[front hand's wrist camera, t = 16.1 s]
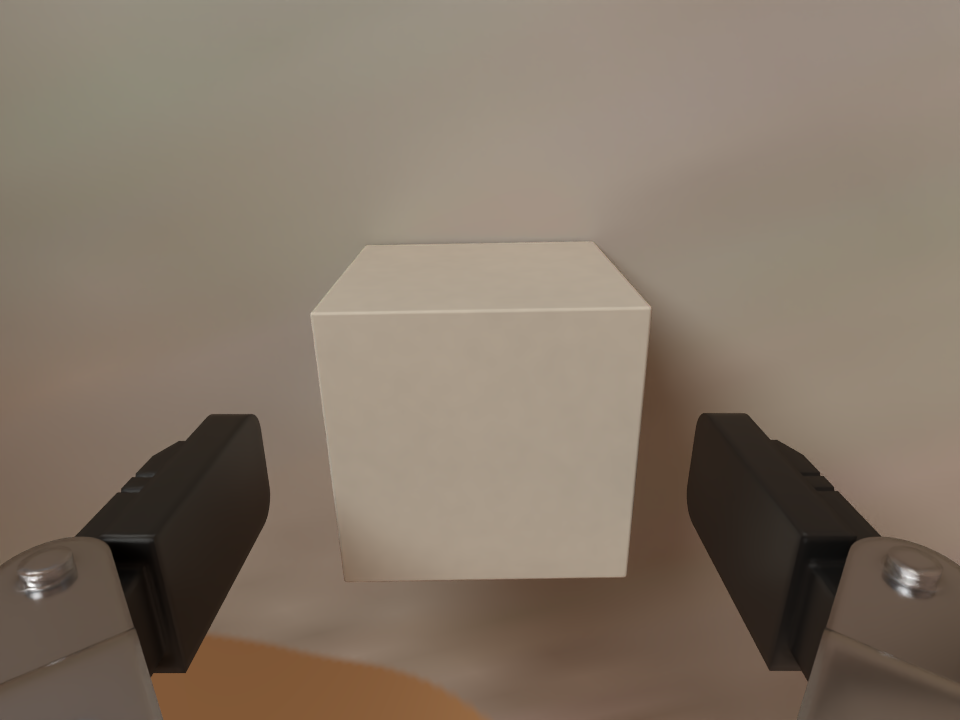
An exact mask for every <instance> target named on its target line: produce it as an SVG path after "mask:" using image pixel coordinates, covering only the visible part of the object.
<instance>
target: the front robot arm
mask: <svg viewBox="0 0 960 720" xmlns="http://www.w3.org/2000/svg"><path fill="white" fill-rule="evenodd" d="M269 505H270V488H269V481H268V474H267V467H266V460H265V454H264V447H263V440H262V434H261V427H260V423H259V421H258V418H257V417H256V416H255V415H253V414H211V415H209V416H208V417H207V418H206V419H205V420H204V421H203V422H202V423H201V425H200V426H199V427H198V428H197V429H196V430H195V431H194V432H193V433H192V434H191V435H190V437H189V438H188V439H187V440H186V441H178V442H177V443H175V444H173V445H171V446H170V447H168V448H166V449H164V450H163V451H161V452H159V453H157V454H156V455H154V456H152V457H151V458H150V460H149V461H148V462H147V463H146V464H145V465H144V466H143V467H142V468H141V469H140V470H139V471H138V472H137V473H136V477H132V478H131V479H130V480H129V481H128V482H127V483H126V484H125V485H124V486H123V487H122V488H121V493H117V494H116V495H115V496H114V497H113V498H112V499H111V500H110V501H109V502H108V503H107V504H106V505H105V506H104V507H103V508H102V509H101V510H100V511H99V512H98V513H97V514H96V515H95V516H94V517H93V518H92V519H91V521H90V522H89V523H88V524H87V525H86V526H85V527H84V528H83V529H82V530H81V531H80V532H79V533H78V534H77V535H76V536H75V537H70V538H63V539H58V540H54V541H50V542H47V543H44V544H41V545H38V546H35V547H33V548H31V549H28V550H26V551H24V552H22V553H20V554H18V555H16V556H15V557H13V558H11V559H10V560H8V561H7V562H5V563H4V564H2V565H1V566H0V720H163V717H162V714H161V711H160V708H159V704H158V701H157V698H156V694H155V691H154V688H153V684H152V681H151V676H152V674H153V673H186V671H187V669H188V667H189V666H190V664H191V662H192V660H193V658H194V656H195V654H196V652H197V651H198V649H199V647H200V645H201V643H202V641H203V639H204V637H205V635H206V634H207V632H208V630H209V628H210V626H211V624H212V622H213V620H214V618H215V617H216V615H217V613H218V611H219V609H220V607H221V605H222V603H223V602H224V600H225V598H226V596H227V594H228V592H229V590H230V588H231V586H232V585H233V583H234V581H235V579H236V577H237V575H238V573H239V571H240V569H241V568H242V566H243V564H244V562H245V560H246V558H247V556H248V554H249V552H250V551H251V549H252V547H253V545H254V543H255V541H256V539H257V537H258V536H259V534H260V532H261V530H262V528H263V526H264V524H265V522H266V519H267V516H268V511H269ZM687 505H688V511H689V515H690V519H691V521H692V523H693V525H694V527H695V529H696V531H697V533H698V535H699V537H700V539H701V541H702V543H703V544H704V546H705V548H706V550H707V552H708V554H709V556H710V558H711V560H712V562H713V564H714V565H715V567H716V569H717V571H718V573H719V575H720V577H721V579H722V581H723V583H724V585H725V586H726V588H727V590H728V592H729V594H730V596H731V598H732V600H733V602H734V604H735V606H736V607H737V609H738V611H739V613H740V615H741V617H742V619H743V621H744V623H745V625H746V627H747V628H748V630H749V632H750V634H751V636H752V638H753V640H754V642H755V644H756V646H757V648H758V649H759V651H760V653H761V655H762V657H763V659H764V661H765V663H766V665H767V667H768V669H769V670H770V671H802V672H803V674H804V676H805V677H806V679H807V681H808V684H807V688H806V691H805V694H804V698H803V701H802V704H801V708H800V711H799V714H798V717H797V720H960V566H959V565H958V564H956V563H955V562H953V561H952V560H950V559H949V558H947V557H945V556H944V555H942V554H940V553H938V552H936V551H934V550H932V549H929V548H927V547H925V546H922V545H919V544H916V543H913V542H910V541H906V540H902V539H897V538H890V537H881V536H880V535H879V534H878V533H877V531H876V530H875V529H874V528H873V527H872V526H871V525H870V524H869V523H868V522H867V521H866V520H865V519H864V518H863V517H862V516H861V515H860V514H859V513H858V512H857V511H856V510H855V509H854V507H853V506H852V505H851V504H850V503H849V502H848V501H847V500H846V499H845V498H844V497H843V496H842V495H841V494H840V493H839V492H838V491H834V487H833V486H832V485H831V483H830V482H829V481H828V480H827V479H826V478H825V477H824V476H820V472H819V471H818V470H817V469H816V468H815V467H814V466H813V465H812V464H811V463H810V462H809V461H808V460H807V458H806V457H805V456H804V455H802V454H801V453H799V452H797V451H795V450H794V449H792V448H790V447H788V446H787V445H785V444H783V443H781V442H780V441H778V440H770V439H769V438H768V437H767V435H766V434H765V433H764V432H763V431H762V430H761V429H760V428H759V427H758V426H757V424H756V423H755V422H754V421H753V420H752V419H751V418H750V417H749V416H748V415H747V414H745V413H703V414H701V415H700V417H699V419H698V421H697V425H696V431H695V437H694V444H693V451H692V458H691V465H690V471H689V478H688V485H687Z"/></svg>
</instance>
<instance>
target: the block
mask: <svg viewBox="0 0 960 720" xmlns="http://www.w3.org/2000/svg"><path fill="white" fill-rule="evenodd" d="M651 315H652V308H651V306H650V305H649V304H648V303H647V302H646V300H645V299H644V298H643V297H642V296H641V295H640V294H639V293H638V291H637V290H636V289H635V288H634V287H633V286H632V285H631V284H630V282H629V281H628V280H627V279H626V278H625V277H624V276H623V275H622V273H621V272H620V271H619V270H618V269H617V268H616V267H615V266H614V264H613V263H612V262H611V261H610V260H609V259H608V258H607V257H606V255H605V254H604V253H603V252H602V251H601V250H600V249H599V248H598V246H597V245H596V244H595V243H594V242H592V241H584V242H526V243H467V244H409V245H366V246H365V247H364V248H363V250H362V251H361V252H360V253H359V254H358V256H357V257H356V258H355V259H354V261H353V262H352V263H351V264H350V266H349V267H348V268H347V269H346V270H345V272H344V273H343V274H342V275H341V277H340V278H339V279H338V280H337V282H336V283H335V284H334V285H333V286H332V288H331V289H330V290H329V291H328V293H327V294H326V295H325V296H324V298H323V299H322V300H321V301H320V302H319V304H318V305H317V306H316V307H315V309H314V310H313V311H312V312H311V323H312V331H313V339H314V347H315V355H316V363H317V370H318V378H319V386H320V394H321V402H322V410H323V417H324V425H325V433H326V441H327V449H328V457H329V465H330V472H331V480H332V488H333V496H334V504H335V512H336V520H337V527H338V535H339V543H340V551H341V559H342V567H343V575H344V580H345V582H377V581H437V580H497V579H556V578H616V577H626V575H627V567H628V556H629V546H630V535H631V525H632V514H633V504H634V493H635V483H636V472H637V462H638V451H639V441H640V430H641V420H642V409H643V399H644V388H645V378H646V367H647V357H648V346H649V336H650V325H651Z"/></svg>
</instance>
